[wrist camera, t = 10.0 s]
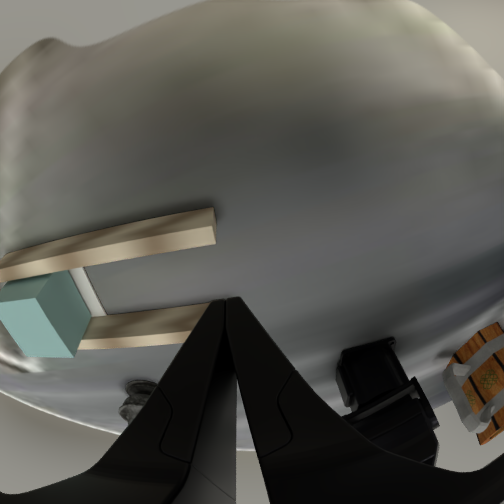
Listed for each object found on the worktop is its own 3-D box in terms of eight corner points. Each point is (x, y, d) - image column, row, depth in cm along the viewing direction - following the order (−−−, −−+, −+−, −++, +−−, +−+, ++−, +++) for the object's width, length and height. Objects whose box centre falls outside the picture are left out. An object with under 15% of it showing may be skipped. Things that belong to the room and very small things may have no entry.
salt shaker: (181, 398, 31) (178, 490, 20) (147, 408, 32) (138, 491, 21) (147, 373, 28) (133, 475, 17) (113, 385, 29) (96, 474, 18)
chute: (213, 207, 19) (212, 225, 17) (235, 309, 24) (237, 335, 21) (6, 253, 19) (-11, 272, 17) (48, 329, 24) (37, 349, 21)
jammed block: (63, 259, 20) (35, 298, 15) (91, 316, 23) (74, 357, 18) (17, 269, 20) (-10, 303, 15) (46, 319, 23) (26, 356, 18)
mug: (511, 322, 33) (554, 380, 20) (468, 376, 40) (500, 433, 27) (458, 318, 29) (518, 405, 16) (403, 386, 35) (440, 467, 22)
